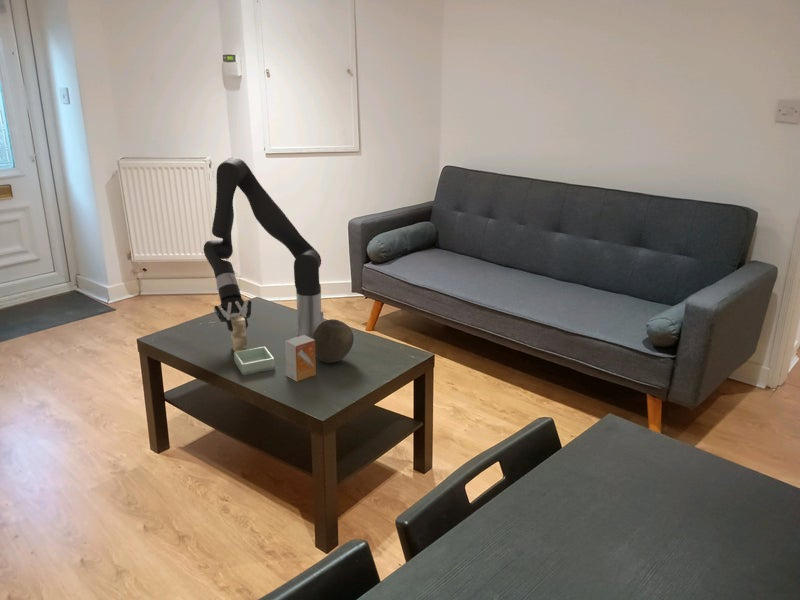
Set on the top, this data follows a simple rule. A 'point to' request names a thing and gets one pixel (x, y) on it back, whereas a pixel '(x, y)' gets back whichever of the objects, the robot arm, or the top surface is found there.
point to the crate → (254, 360)
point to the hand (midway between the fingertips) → (238, 329)
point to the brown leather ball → (332, 340)
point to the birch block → (238, 333)
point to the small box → (300, 357)
